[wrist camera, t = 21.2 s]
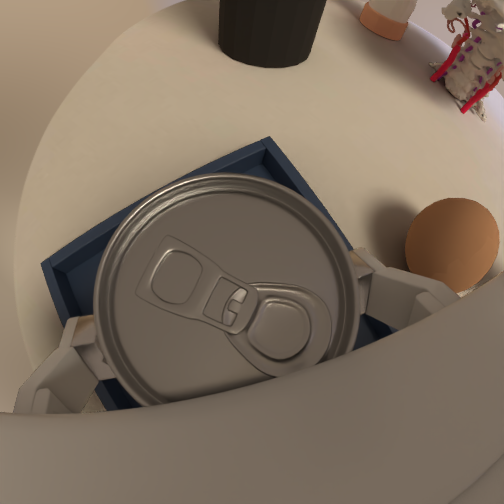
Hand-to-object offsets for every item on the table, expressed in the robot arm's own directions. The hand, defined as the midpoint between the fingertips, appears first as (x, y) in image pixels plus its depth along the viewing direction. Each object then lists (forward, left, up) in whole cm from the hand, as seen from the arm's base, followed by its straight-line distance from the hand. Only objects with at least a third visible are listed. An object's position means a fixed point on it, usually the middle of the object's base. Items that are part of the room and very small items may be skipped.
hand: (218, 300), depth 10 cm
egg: (+15, -5, -8) cm, 18 cm away
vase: (+18, +22, -8) cm, 30 cm away
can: (0, -1, -8) cm, 8 cm away
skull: (+41, +6, -8) cm, 42 cm away
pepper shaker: (+41, +23, -8) cm, 48 cm away
